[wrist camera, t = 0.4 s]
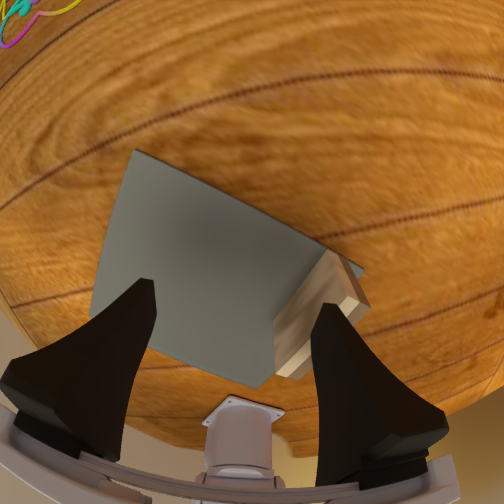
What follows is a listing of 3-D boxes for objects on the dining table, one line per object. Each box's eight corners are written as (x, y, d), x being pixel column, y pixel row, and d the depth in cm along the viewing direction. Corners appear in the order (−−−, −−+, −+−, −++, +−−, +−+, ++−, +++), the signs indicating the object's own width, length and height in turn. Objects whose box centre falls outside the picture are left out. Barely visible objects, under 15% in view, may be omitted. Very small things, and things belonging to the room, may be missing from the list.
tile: (292, 328, 25) (298, 381, 19) (273, 320, 24) (275, 373, 19) (347, 260, 21) (371, 307, 16) (327, 249, 21) (347, 295, 15)
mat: (257, 386, 29) (256, 389, 29) (90, 313, 25) (88, 316, 25) (363, 268, 22) (365, 270, 22) (136, 148, 18) (133, 149, 18)
